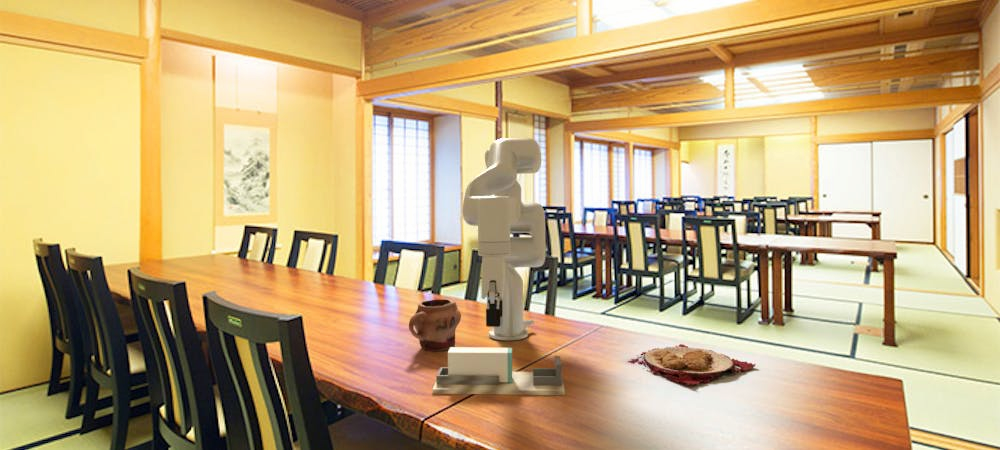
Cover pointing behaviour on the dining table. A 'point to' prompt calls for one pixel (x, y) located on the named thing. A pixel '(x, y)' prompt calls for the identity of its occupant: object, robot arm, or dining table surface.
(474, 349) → the white teal block
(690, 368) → the plate with food
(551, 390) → the base
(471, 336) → the dining table surface
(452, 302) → the brown clay mug
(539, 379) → the socket
